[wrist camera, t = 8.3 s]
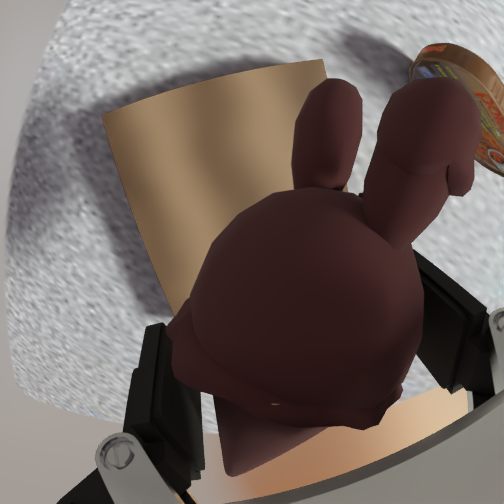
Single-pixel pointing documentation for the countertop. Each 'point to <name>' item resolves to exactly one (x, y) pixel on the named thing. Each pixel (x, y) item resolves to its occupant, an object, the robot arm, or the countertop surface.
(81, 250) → the countertop surface
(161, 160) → the base
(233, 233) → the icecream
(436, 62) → the tin
